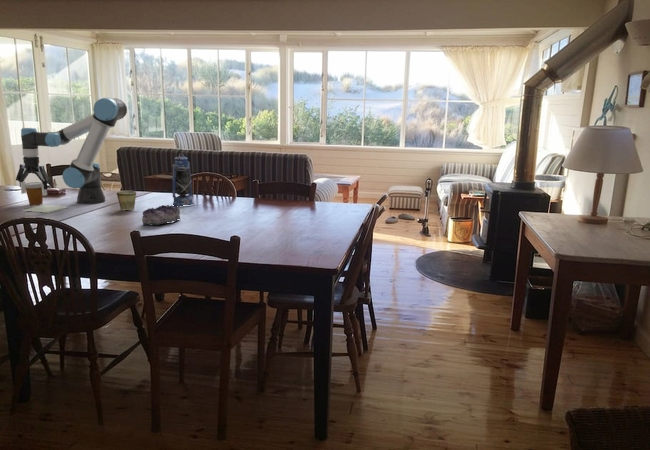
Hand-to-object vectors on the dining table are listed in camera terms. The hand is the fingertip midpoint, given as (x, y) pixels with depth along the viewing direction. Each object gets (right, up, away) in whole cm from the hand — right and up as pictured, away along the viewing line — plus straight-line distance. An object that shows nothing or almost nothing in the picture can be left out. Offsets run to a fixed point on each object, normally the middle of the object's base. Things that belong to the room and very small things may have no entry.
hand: (34, 194), depth 279 cm
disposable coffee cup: (0, -6, +1) cm, 6 cm away
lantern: (+80, -6, +13) cm, 81 cm away
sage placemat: (+13, -9, -11) cm, 19 cm away
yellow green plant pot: (+55, -9, -4) cm, 56 cm away
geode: (+83, -16, -33) cm, 90 cm away
